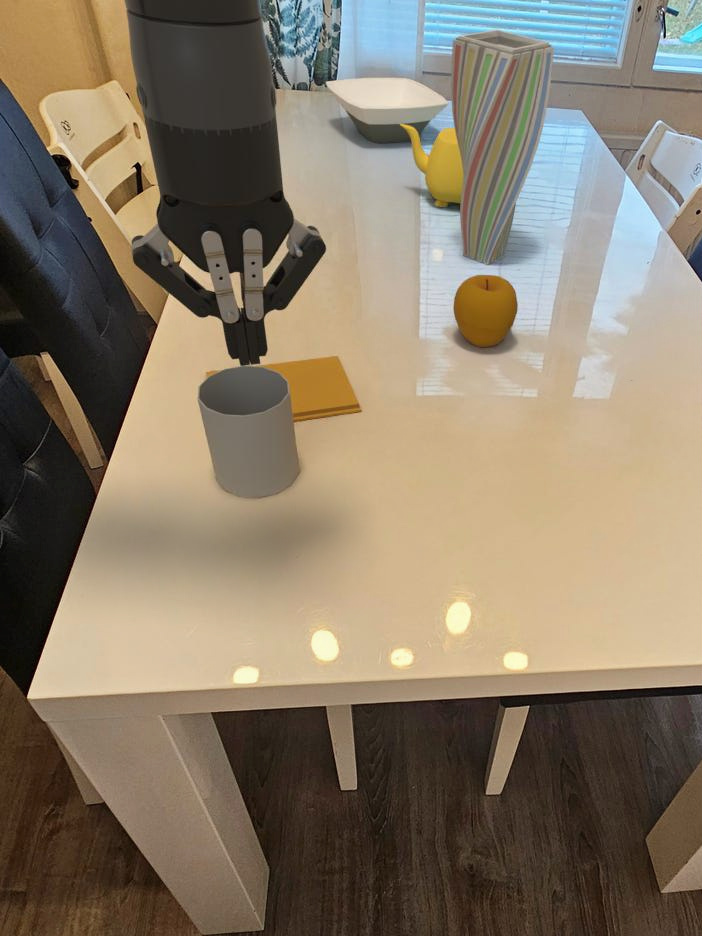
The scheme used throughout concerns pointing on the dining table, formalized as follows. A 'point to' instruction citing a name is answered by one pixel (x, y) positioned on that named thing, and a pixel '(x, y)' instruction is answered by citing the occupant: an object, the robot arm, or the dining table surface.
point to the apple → (485, 309)
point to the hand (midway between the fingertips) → (248, 359)
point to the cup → (249, 430)
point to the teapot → (440, 165)
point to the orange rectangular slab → (316, 387)
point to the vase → (496, 130)
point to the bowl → (387, 106)
